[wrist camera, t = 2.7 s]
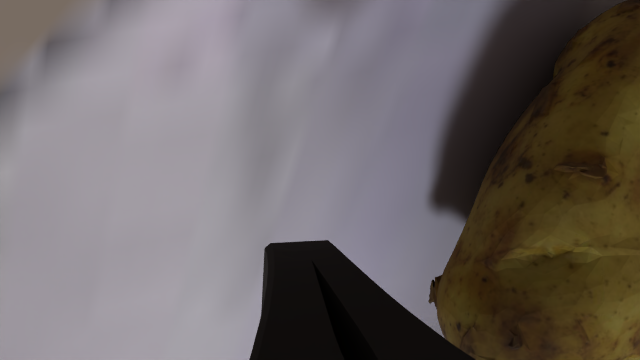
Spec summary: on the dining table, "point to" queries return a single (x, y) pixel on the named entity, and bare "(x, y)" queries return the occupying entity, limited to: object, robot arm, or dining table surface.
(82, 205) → the dining table surface
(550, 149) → the potato
